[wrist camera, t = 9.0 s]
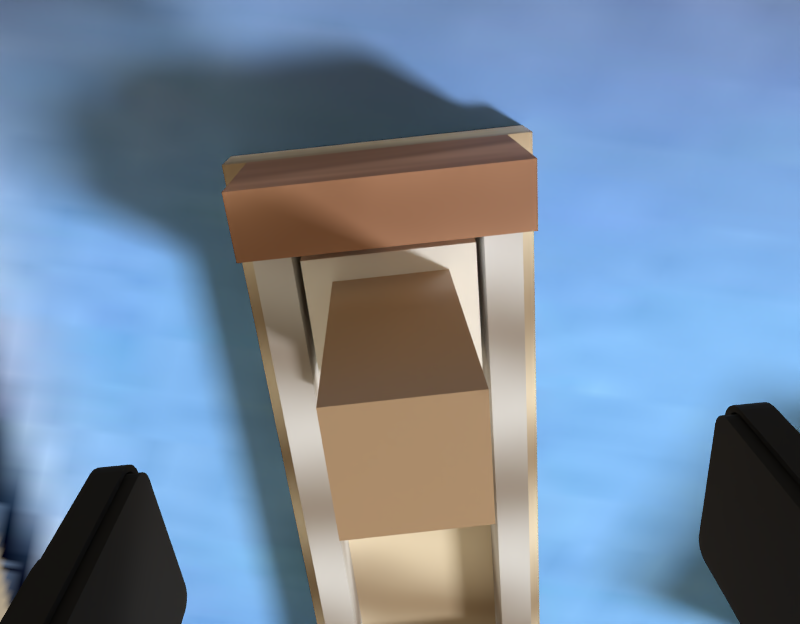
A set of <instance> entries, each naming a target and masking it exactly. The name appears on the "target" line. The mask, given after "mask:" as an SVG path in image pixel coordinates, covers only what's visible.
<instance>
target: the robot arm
mask: <svg viewBox="0 0 800 624" xmlns="http://www.w3.org/2000/svg"><path fill="white" fill-rule="evenodd" d="M699 545H700V550H701V553H702V556H703V559H704V561H705V563H706V564H707V566H708V568H709V570H710V571H711V573H712V575H713V577H714V578H715V580H716V582H717V584H718V585H719V587H720V589H721V590H722V592H723V594H724V596H725V597H726V599H727V601H728V603H729V604H730V606H731V608H732V610H733V611H734V613H735V615H736V617H737V618H738V620H739V622H740V624H800V433H799V432H798V431H797V430H796V429H795V428H794V427H793V426H792V425H791V424H790V423H789V422H788V421H787V420H786V419H785V418H784V416H783V415H782V414H781V413H780V412H779V411H778V410H777V409H776V408H775V407H774V406H773V405H771V404H770V403H767V402H762V403H752V404H742V405H732V406H730V407H728V409H727V410H726V413H725V415H722V416H719V417H718V418H717V420H716V423H715V430H714V437H713V444H712V450H711V457H710V464H709V471H708V478H707V485H706V492H705V499H704V506H703V512H702V519H701V526H700V533H699ZM186 603H187V591H186V586H185V582H184V580H183V577H182V574H181V571H180V568H179V565H178V562H177V559H176V556H175V553H174V550H173V547H172V544H171V541H170V539H169V536H168V533H167V530H166V527H165V524H164V521H163V518H162V515H161V512H160V509H159V506H158V503H157V500H156V497H155V495H154V492H153V489H152V486H151V483H150V480H149V478H148V475H147V474H146V473H143V472H141V473H138V471H137V469H136V468H135V467H134V466H133V465H121V466H111V467H101V468H96V469H94V470H93V471H92V472H91V474H90V475H89V477H88V479H87V480H86V482H85V484H84V485H83V487H82V489H81V491H80V492H79V494H78V496H77V497H76V499H75V501H74V503H73V504H72V506H71V508H70V509H69V511H68V513H67V514H66V516H65V518H64V520H63V521H62V523H61V525H60V526H59V528H58V530H57V532H56V533H55V535H54V537H53V538H52V540H51V542H50V543H49V545H48V547H47V549H46V550H45V552H44V554H43V555H42V557H41V559H40V560H38V561H37V563H36V564H35V565H34V567H33V568H32V569H31V571H30V573H29V574H28V576H27V578H26V579H25V581H24V583H23V584H22V586H21V588H20V589H19V591H18V593H17V595H16V596H15V598H14V600H13V601H12V603H11V605H10V606H9V608H8V610H7V611H6V613H5V615H4V617H3V618H2V620H1V622H0V624H181V623H182V619H183V616H184V613H185V609H186Z"/></svg>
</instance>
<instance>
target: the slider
mask: <svg viewBox="0 0 800 624" xmlns="http://www.w3.org/2000/svg"><path fill="white" fill-rule="evenodd" d="M300 263H301V269H302V275H303V281H304V287H305V293H306V299H307V305H308V311H309V316H310V322H311V328H312V334H313V340H314V346H315V352H316V358H317V364H318V370H319V376H320V381H319V389H318V397H317V405H316V410H317V416H318V422H319V428H320V433H321V439H322V445H323V450H324V456H325V462H326V467H327V473H328V479H329V484H330V490H331V496H332V501H333V507H334V513H335V519H336V524H337V530H338V536H339V541H345V540H354V539H363V538H372V537H381V536H390V535H399V534H409V533H418V532H427V531H436V530H445V529H454V528H463V527H473V526H482V525H491V524H495V506H494V485H493V465H492V444H491V424H490V403H489V388H488V385H487V382H486V379H485V376H484V373H483V368H482V348H481V329H480V310H479V291H478V272H477V253H476V241H475V239H474V238H466V239H457V240H447V241H438V242H429V243H420V244H410V245H401V246H392V247H383V248H373V249H364V250H355V251H346V252H336V253H327V254H318V255H308V256H301V260H300Z"/></svg>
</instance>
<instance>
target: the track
mask: <svg viewBox="0 0 800 624" xmlns="http://www.w3.org/2000/svg"><path fill="white" fill-rule="evenodd" d="M222 168H223V173H224V178H225V182H226V188H225V189H224V190H223V191H222V196H223V201H224V206H225V211H226V215H227V220H228V225H229V230H230V234H231V239H232V244H233V248H234V253H235V258H236V263H242V264H243V269H244V274H245V279H246V284H247V288H248V293H249V298H250V303H251V308H252V312H253V317H254V322H255V327H256V332H257V336H258V341H259V346H260V351H261V356H262V361H263V365H264V370H265V375H266V380H267V385H268V389H269V394H270V399H271V404H272V409H273V413H274V418H275V423H276V428H277V433H278V438H279V442H280V447H281V452H282V457H283V462H284V466H285V471H286V476H287V481H288V486H289V490H290V495H291V500H292V505H293V510H294V515H295V519H296V524H297V529H298V534H299V539H300V543H301V548H302V553H303V558H304V563H305V567H306V572H307V577H308V582H309V587H310V592H311V596H312V601H313V606H314V611H315V616H316V620H317V624H539V565H538V496H537V427H536V358H535V289H534V231H538V197H537V158H536V157H535V156H533V152H532V131H530V130H529V129H527V128H526V127H524V126H523V125H518V126H509V127H499V128H490V129H481V130H472V131H462V132H453V133H444V134H434V135H425V136H416V137H406V138H397V139H388V140H378V141H369V142H360V143H350V144H341V145H332V146H323V147H313V148H304V149H295V150H285V151H276V152H267V153H257V154H248V155H239V156H231V157H230V158H229V159H228V160H227V161H226V162H225V163H224V164H223V165H222ZM466 238H474V239H475V241H476V253H477V272H478V291H479V310H480V329H481V348H482V368H483V373H484V376H485V379H486V382H487V385H488V388H489V403H490V424H491V444H492V465H493V485H494V506H495V524H491V525H482V526H473V527H463V528H454V529H445V530H436V531H427V532H418V533H409V534H399V535H390V536H381V537H372V538H363V539H354V540H345V541H339V536H338V530H337V524H336V519H335V513H334V507H333V501H332V496H331V490H330V484H329V479H328V473H327V467H326V462H325V456H324V450H323V445H322V439H321V433H320V428H319V422H318V416H317V410H316V405H317V397H318V389H319V381H320V376H319V370H318V364H317V358H316V352H315V346H314V340H313V334H312V328H311V322H310V316H309V311H308V305H307V299H306V293H305V287H304V281H303V275H302V269H301V263H300V260H301V256H308V255H318V254H327V253H336V252H346V251H355V250H364V249H373V248H383V247H392V246H401V245H410V244H420V243H429V242H438V241H447V240H457V239H466Z"/></svg>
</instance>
